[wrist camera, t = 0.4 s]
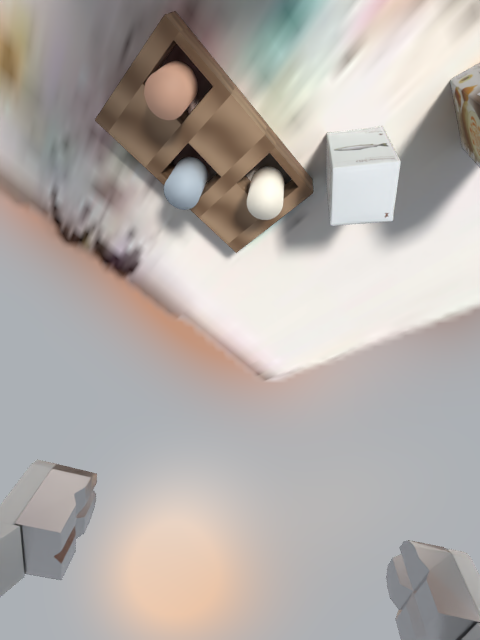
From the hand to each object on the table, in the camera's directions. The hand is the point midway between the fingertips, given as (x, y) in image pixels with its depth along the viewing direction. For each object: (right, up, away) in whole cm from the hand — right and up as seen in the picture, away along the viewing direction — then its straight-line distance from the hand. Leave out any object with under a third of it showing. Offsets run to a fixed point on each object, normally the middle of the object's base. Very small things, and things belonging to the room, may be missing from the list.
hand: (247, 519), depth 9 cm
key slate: (-7, +26, +41) cm, 49 cm away
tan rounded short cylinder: (-7, +33, +34) cm, 48 cm away
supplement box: (+15, +28, +41) cm, 52 cm away
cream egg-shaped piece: (+4, +24, +41) cm, 47 cm away
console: (-4, +30, +42) cm, 52 cm away
